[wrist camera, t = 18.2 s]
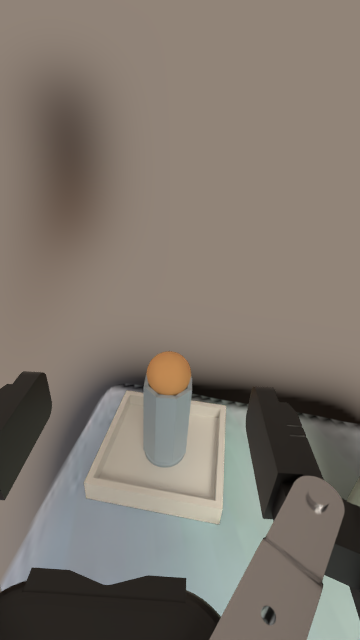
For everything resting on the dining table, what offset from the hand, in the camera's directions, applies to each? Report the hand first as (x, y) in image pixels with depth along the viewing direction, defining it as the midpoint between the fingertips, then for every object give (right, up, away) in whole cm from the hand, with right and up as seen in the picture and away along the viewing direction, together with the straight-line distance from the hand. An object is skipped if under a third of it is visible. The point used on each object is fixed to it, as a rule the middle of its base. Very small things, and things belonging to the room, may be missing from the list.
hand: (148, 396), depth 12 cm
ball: (0, -3, +24) cm, 24 cm away
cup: (-1, -15, +30) cm, 34 cm away
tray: (-1, -16, +31) cm, 35 cm away
